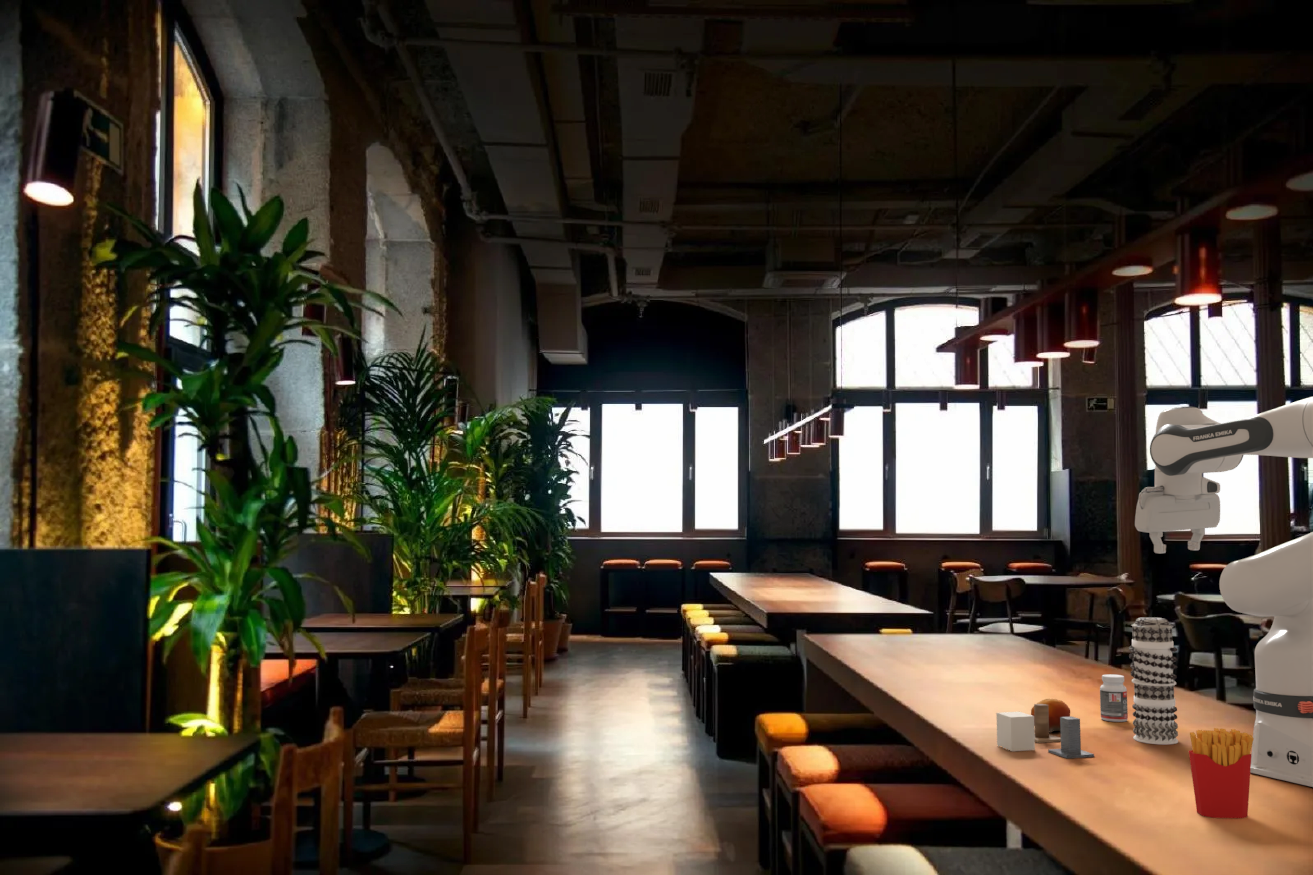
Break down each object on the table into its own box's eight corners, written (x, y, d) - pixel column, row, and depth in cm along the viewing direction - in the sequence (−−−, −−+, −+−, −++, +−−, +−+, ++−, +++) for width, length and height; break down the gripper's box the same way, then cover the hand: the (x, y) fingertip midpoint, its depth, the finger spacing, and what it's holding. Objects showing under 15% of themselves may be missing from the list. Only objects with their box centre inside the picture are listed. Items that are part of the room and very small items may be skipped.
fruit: (1051, 730, 230) (1039, 694, 235) (1033, 743, 236) (1020, 708, 241) (1084, 728, 232) (1071, 692, 237) (1065, 741, 238) (1052, 706, 243)
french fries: (1198, 817, 170) (1195, 732, 171) (1187, 810, 174) (1184, 727, 175) (1260, 819, 169) (1257, 733, 170) (1248, 811, 173) (1244, 727, 174)
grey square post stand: (1094, 756, 212) (1093, 720, 212) (1066, 758, 210) (1065, 721, 211) (1074, 750, 218) (1073, 714, 218) (1048, 752, 216) (1047, 715, 217)
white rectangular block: (1034, 749, 218) (1034, 716, 218) (1011, 751, 217) (1010, 717, 217) (1019, 744, 223) (1019, 711, 224) (997, 745, 222) (996, 712, 222)
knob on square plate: (1063, 741, 226) (1062, 706, 227) (1037, 742, 225) (1037, 708, 225) (1046, 735, 232) (1045, 701, 232) (1021, 737, 230) (1020, 703, 231)
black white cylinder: (1155, 734, 233) (1151, 615, 235) (1190, 742, 224) (1186, 619, 226) (1121, 737, 230) (1117, 617, 231) (1156, 746, 221) (1152, 621, 223)
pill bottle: (1130, 723, 245) (1129, 678, 246) (1103, 722, 247) (1102, 677, 247) (1124, 718, 251) (1123, 674, 252) (1098, 717, 252) (1097, 673, 253)
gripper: (1152, 488, 220) (1151, 557, 221) (1226, 484, 228) (1225, 550, 229) (1127, 486, 226) (1127, 552, 227) (1201, 481, 234) (1200, 546, 234)
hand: (1177, 551), depth 228 cm, fingers open, 8 cm apart
